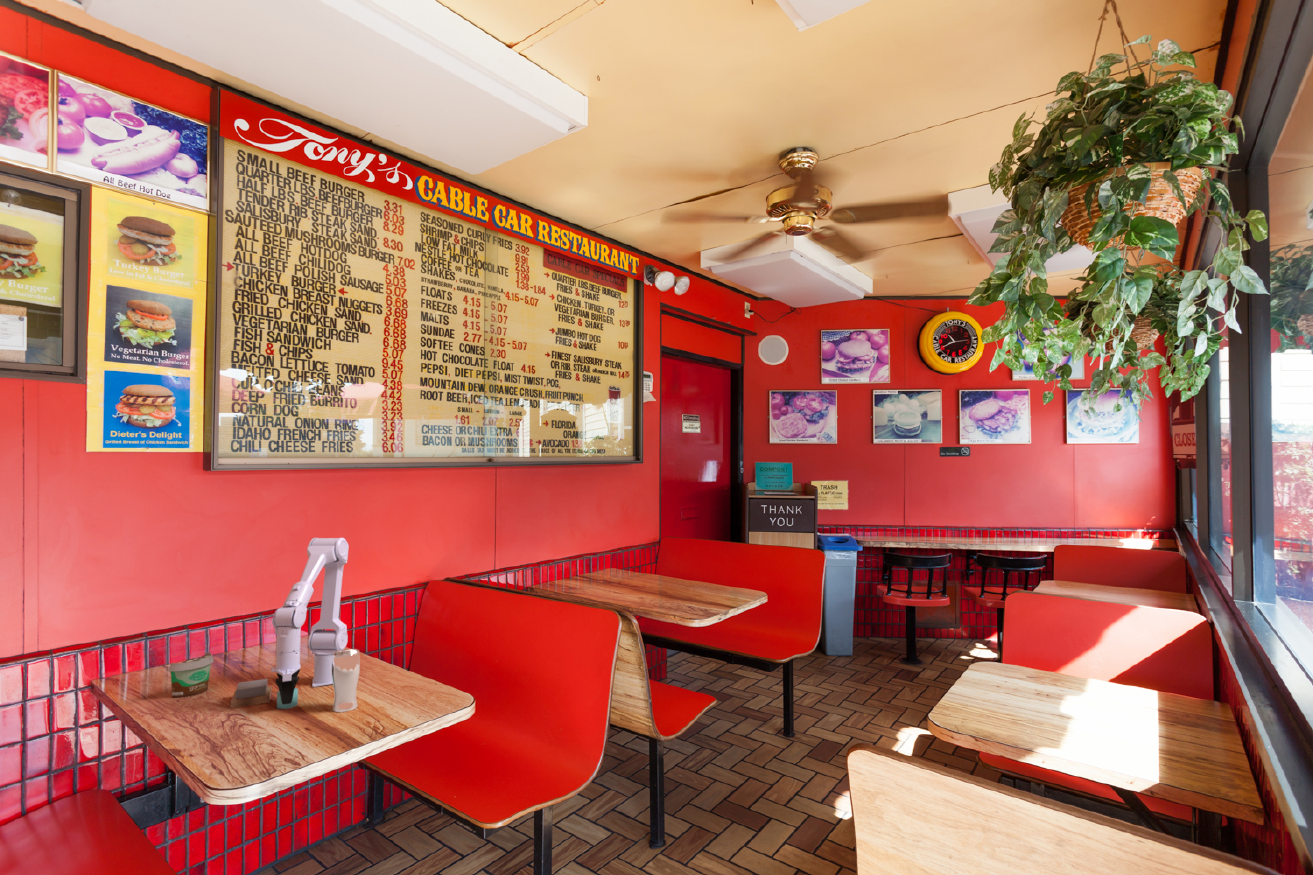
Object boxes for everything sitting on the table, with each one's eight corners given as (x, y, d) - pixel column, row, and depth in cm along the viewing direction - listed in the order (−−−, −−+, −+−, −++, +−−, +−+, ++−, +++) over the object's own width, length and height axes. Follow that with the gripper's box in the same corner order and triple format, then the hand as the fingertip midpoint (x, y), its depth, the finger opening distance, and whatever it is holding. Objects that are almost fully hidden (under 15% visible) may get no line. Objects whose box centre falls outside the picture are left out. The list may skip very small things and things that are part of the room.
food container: (185, 701, 178) (186, 665, 179) (167, 699, 179) (168, 663, 180) (223, 686, 190) (224, 652, 191) (206, 685, 191) (207, 651, 192)
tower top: (267, 687, 184) (267, 678, 184) (265, 694, 177) (265, 685, 178) (238, 691, 180) (238, 682, 180) (235, 699, 174) (235, 690, 174)
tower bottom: (271, 694, 185) (271, 685, 185) (269, 704, 177) (269, 695, 177) (234, 700, 180) (234, 691, 180) (230, 710, 172) (230, 701, 173)
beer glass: (364, 705, 174) (365, 649, 175) (344, 714, 168) (346, 657, 168) (345, 702, 176) (346, 647, 177) (324, 711, 170) (325, 654, 171)
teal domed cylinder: (297, 701, 177) (298, 686, 178) (297, 706, 173) (297, 692, 173) (277, 704, 175) (277, 689, 175) (276, 710, 171) (276, 695, 171)
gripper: (273, 646, 179) (272, 694, 179) (269, 659, 167) (268, 711, 166) (301, 642, 183) (300, 690, 182) (300, 655, 170) (299, 706, 169)
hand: (287, 700), depth 174 cm, fingers closed on teal domed cylinder, 5 cm apart
